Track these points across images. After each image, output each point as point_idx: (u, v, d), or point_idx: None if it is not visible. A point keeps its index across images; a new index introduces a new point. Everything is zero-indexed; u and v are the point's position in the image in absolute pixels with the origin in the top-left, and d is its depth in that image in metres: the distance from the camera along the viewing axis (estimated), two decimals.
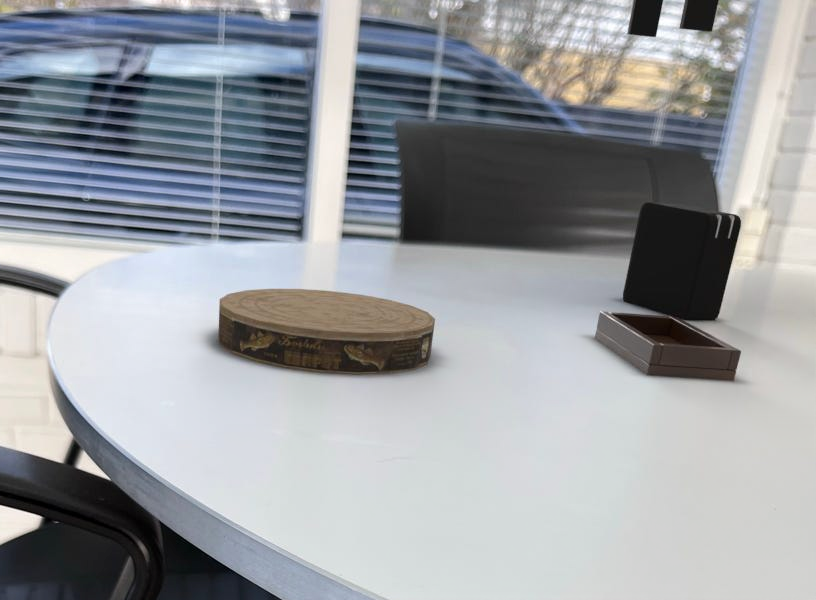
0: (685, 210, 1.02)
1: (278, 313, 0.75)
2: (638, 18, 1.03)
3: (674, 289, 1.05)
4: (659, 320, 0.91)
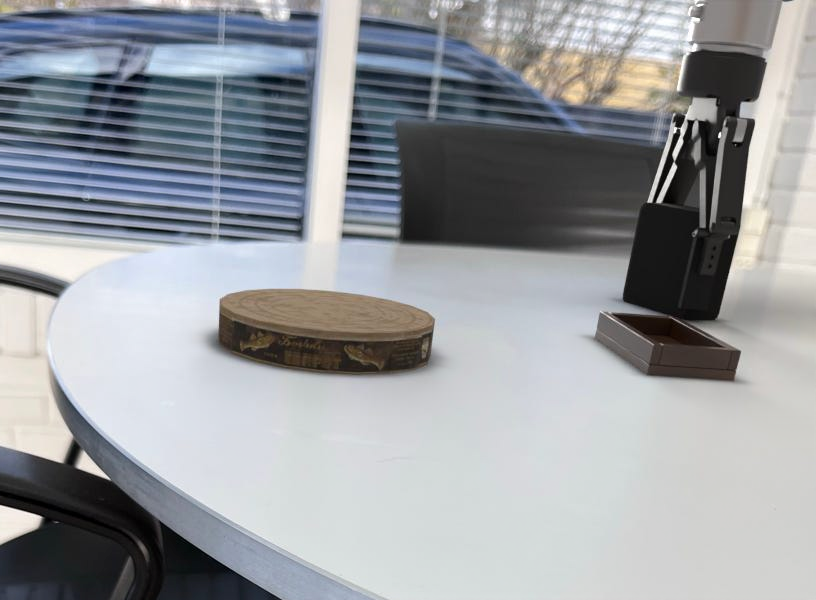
0: (685, 210, 1.02)
1: (278, 313, 0.75)
2: None
3: (674, 289, 1.05)
4: (659, 320, 0.91)
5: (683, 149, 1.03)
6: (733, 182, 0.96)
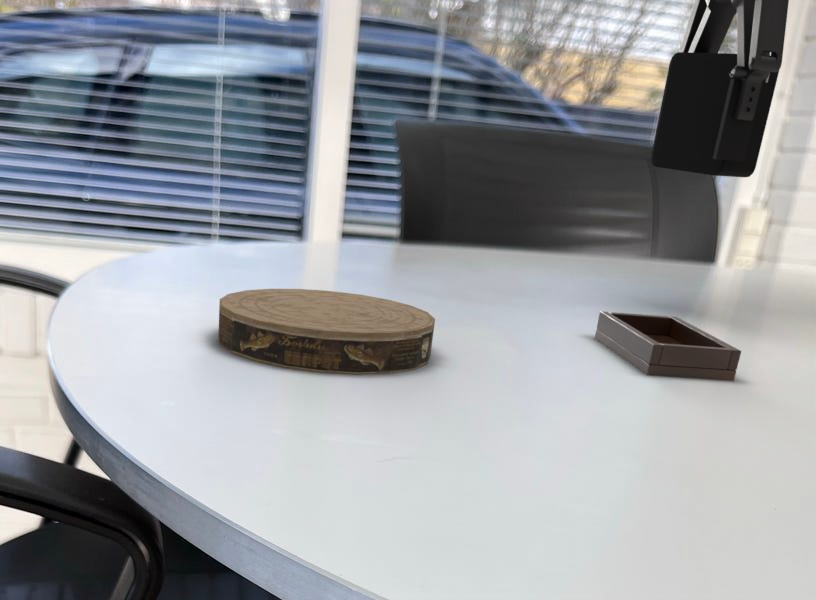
0: (720, 54, 0.96)
1: (278, 313, 0.75)
2: None
3: (708, 142, 0.99)
4: (659, 320, 0.91)
5: None
6: (774, 13, 0.90)
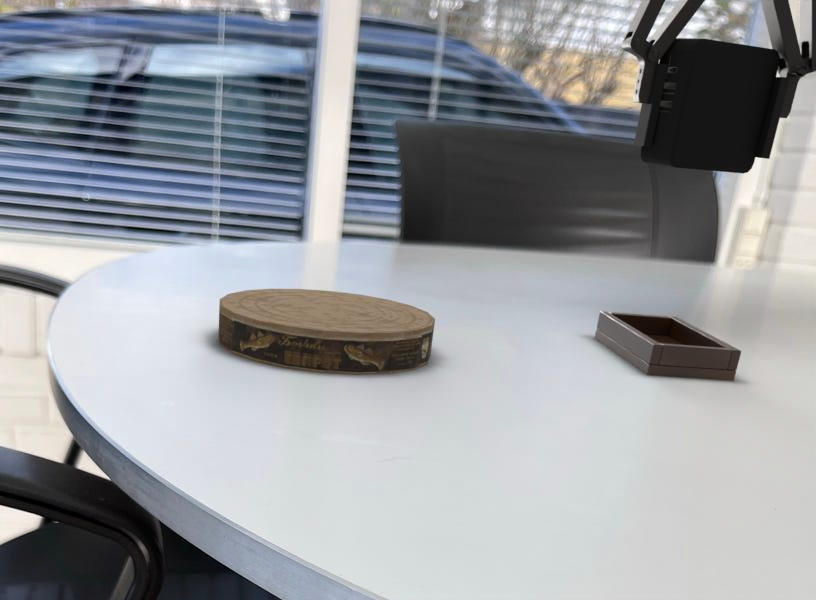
0: (752, 47, 0.91)
1: (278, 313, 0.75)
2: None
3: (739, 139, 0.95)
4: (659, 320, 0.91)
5: None
6: None
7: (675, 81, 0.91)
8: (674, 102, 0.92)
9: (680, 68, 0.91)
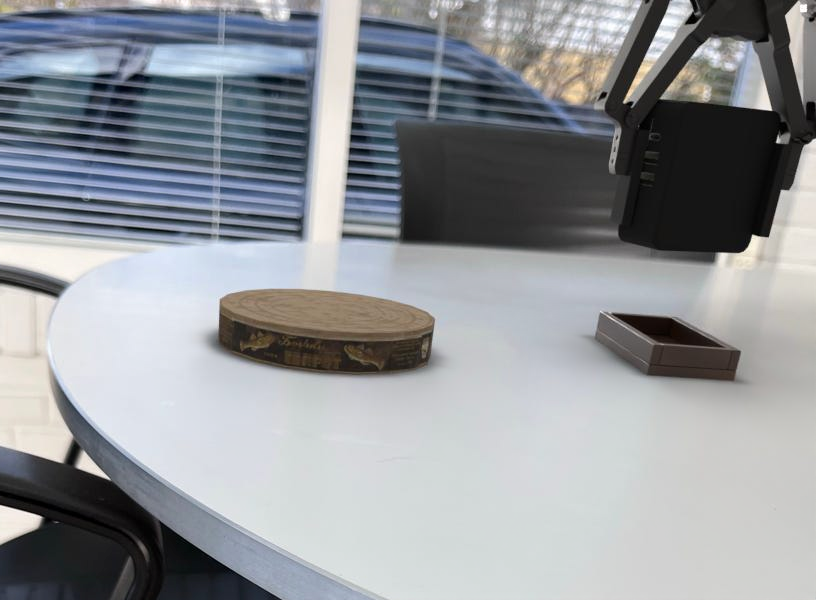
0: (748, 109, 0.77)
1: (278, 313, 0.75)
2: None
3: (733, 215, 0.81)
4: (659, 320, 0.91)
5: None
6: None
7: (658, 150, 0.77)
8: (657, 175, 0.77)
9: (664, 135, 0.76)
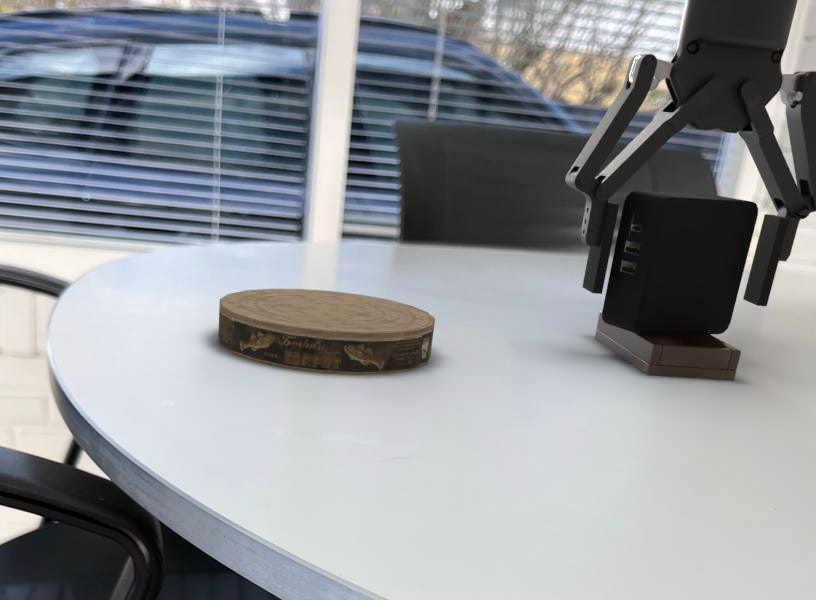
0: (726, 201, 0.80)
1: (278, 313, 0.75)
2: None
3: (713, 299, 0.84)
4: None
5: (695, 114, 0.77)
6: None
7: (639, 241, 0.80)
8: (638, 265, 0.80)
9: (644, 228, 0.79)
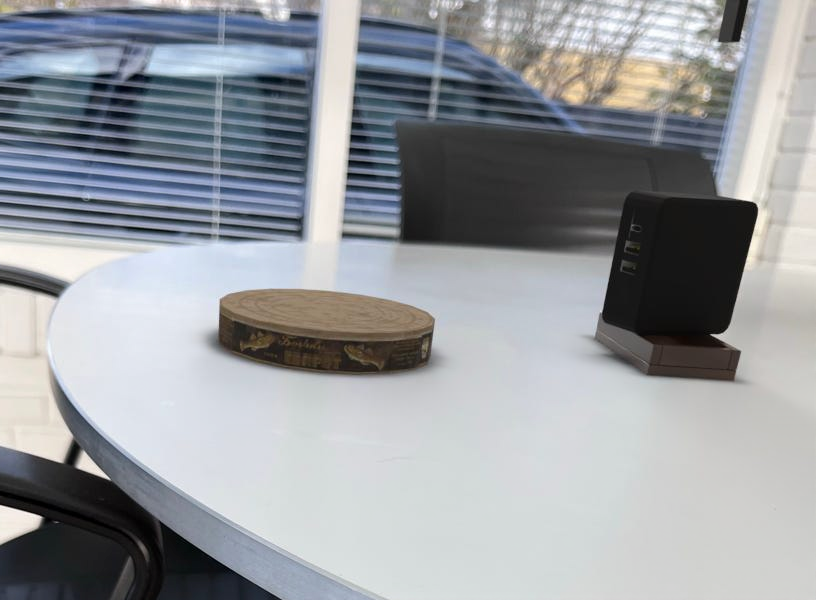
0: (726, 201, 0.80)
1: (278, 313, 0.75)
2: None
3: (713, 299, 0.84)
4: None
5: None
6: None
7: (639, 241, 0.80)
8: (638, 265, 0.80)
9: (644, 228, 0.79)
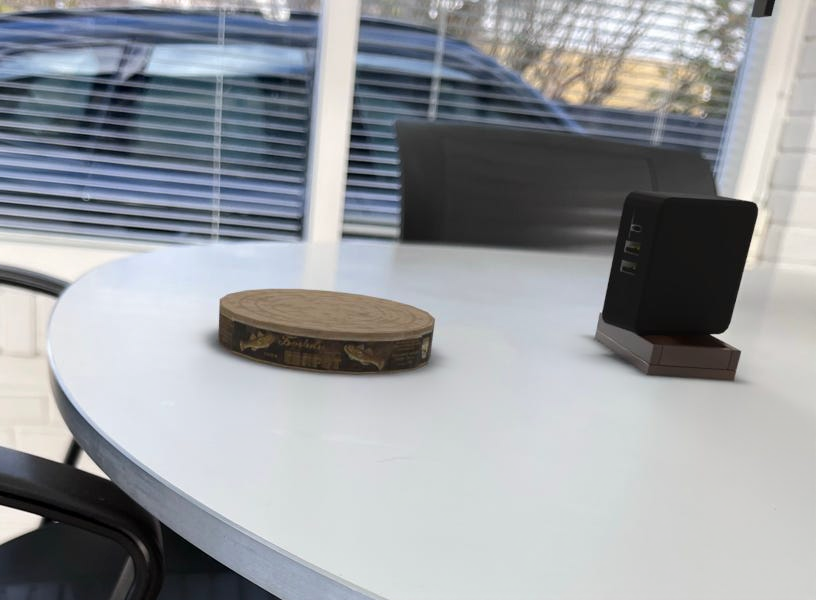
0: (726, 201, 0.80)
1: (278, 313, 0.75)
2: None
3: (713, 299, 0.84)
4: None
5: None
6: None
7: (639, 241, 0.80)
8: (638, 265, 0.80)
9: (644, 228, 0.79)
